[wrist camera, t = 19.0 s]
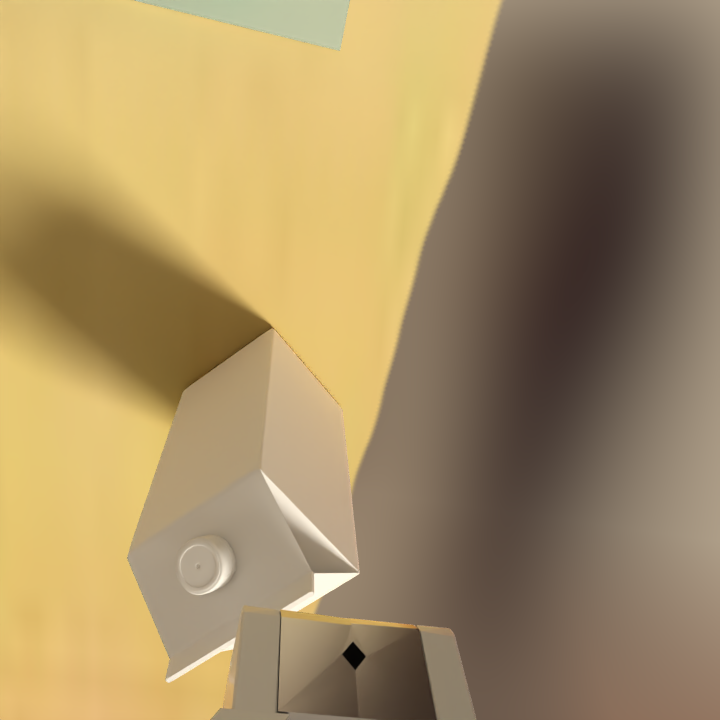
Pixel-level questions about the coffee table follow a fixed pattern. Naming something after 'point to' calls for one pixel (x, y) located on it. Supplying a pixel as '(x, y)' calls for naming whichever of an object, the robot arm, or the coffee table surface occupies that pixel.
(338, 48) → the runner mat
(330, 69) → the coffee table surface
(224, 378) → the milk carton
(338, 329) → the coffee table surface
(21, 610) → the coffee table surface
